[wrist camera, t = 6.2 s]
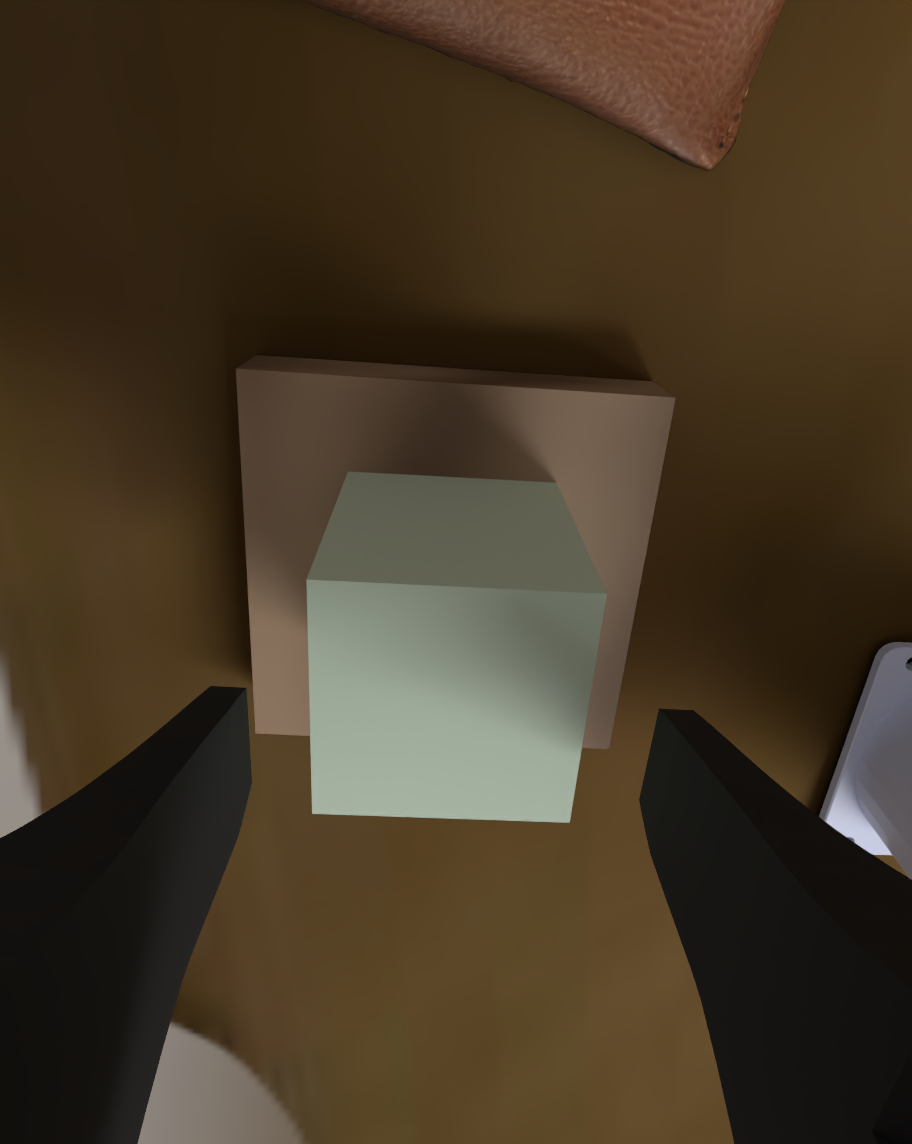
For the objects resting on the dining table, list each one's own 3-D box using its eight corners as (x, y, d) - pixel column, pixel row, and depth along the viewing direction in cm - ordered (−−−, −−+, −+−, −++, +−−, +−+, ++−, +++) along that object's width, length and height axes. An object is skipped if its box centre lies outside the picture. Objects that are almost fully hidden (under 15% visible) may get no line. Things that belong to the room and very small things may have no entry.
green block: (556, 482, 18) (607, 593, 12) (534, 660, 20) (569, 822, 15) (347, 471, 18) (306, 579, 12) (348, 652, 20) (312, 813, 14)
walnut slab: (653, 381, 19) (675, 397, 17) (595, 708, 23) (608, 749, 21) (256, 355, 18) (235, 368, 17) (270, 693, 23) (255, 733, 21)
